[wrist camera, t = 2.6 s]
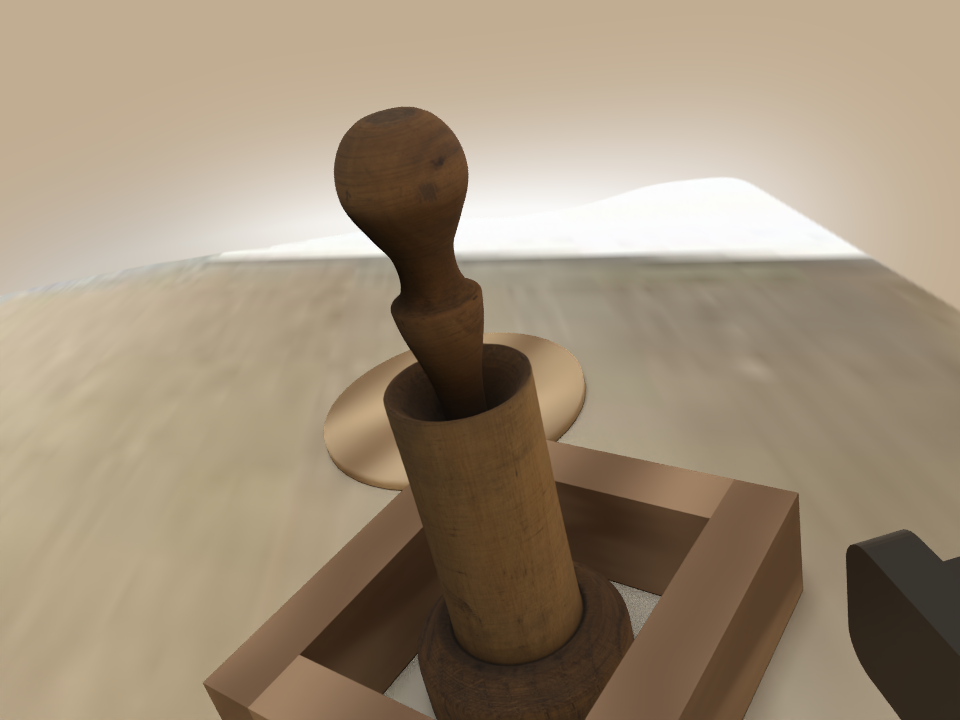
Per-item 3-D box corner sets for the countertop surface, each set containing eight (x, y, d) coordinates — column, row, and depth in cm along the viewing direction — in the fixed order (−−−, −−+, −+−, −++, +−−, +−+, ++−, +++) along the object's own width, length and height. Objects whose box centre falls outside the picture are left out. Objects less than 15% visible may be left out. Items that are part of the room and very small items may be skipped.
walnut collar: (249, 772, 26) (202, 682, 25) (492, 504, 35) (471, 424, 34) (611, 999, 19) (584, 897, 17) (802, 589, 28) (798, 492, 26)
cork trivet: (273, 457, 42) (269, 447, 42) (432, 331, 51) (430, 322, 51) (487, 519, 35) (484, 507, 34) (631, 358, 43) (630, 347, 43)
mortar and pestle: (631, 593, 30) (537, 55, 21) (650, 762, 24) (532, 122, 16) (443, 613, 31) (283, 109, 22) (420, 779, 25) (193, 189, 17)
